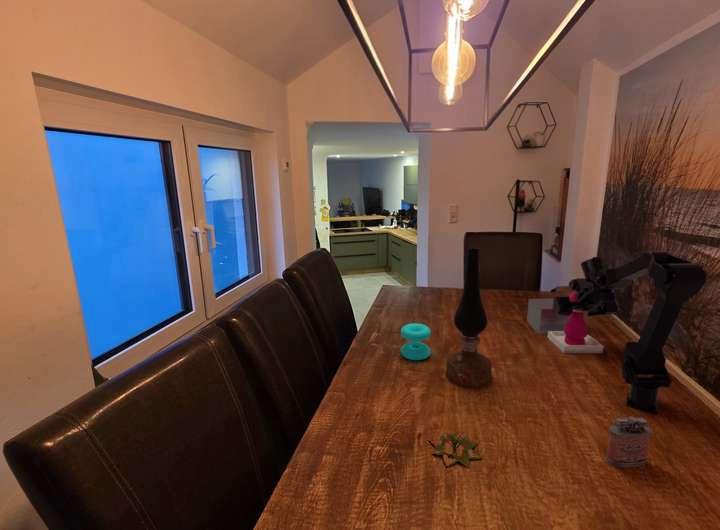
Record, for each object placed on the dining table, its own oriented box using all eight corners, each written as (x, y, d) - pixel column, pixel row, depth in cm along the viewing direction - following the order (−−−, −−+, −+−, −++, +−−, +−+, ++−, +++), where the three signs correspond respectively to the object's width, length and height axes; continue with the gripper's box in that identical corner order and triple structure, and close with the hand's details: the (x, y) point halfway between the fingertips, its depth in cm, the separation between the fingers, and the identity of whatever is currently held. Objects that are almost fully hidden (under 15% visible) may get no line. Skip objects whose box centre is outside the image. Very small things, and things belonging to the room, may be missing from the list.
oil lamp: (461, 371, 122) (453, 250, 122) (505, 379, 111) (497, 247, 111) (436, 382, 113) (428, 251, 112) (482, 393, 101) (473, 248, 101)
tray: (602, 353, 124) (603, 346, 123) (564, 353, 125) (564, 346, 124) (582, 337, 136) (583, 331, 136) (547, 337, 137) (548, 331, 136)
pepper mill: (583, 349, 125) (588, 292, 120) (559, 343, 130) (564, 288, 125) (589, 342, 130) (594, 287, 125) (566, 337, 135) (570, 284, 130)
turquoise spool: (434, 332, 120) (403, 334, 119) (433, 360, 122) (404, 362, 122) (426, 321, 130) (398, 323, 129) (426, 347, 132) (398, 349, 131)
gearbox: (582, 333, 140) (586, 300, 137) (539, 333, 140) (541, 301, 138) (566, 321, 151) (570, 291, 148) (526, 322, 152) (529, 291, 149)
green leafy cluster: (442, 477, 75) (442, 458, 74) (418, 439, 87) (418, 422, 86) (494, 465, 78) (495, 446, 77) (464, 429, 89) (465, 412, 88)
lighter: (638, 453, 79) (644, 412, 77) (650, 465, 76) (658, 423, 74) (601, 455, 79) (607, 414, 77) (612, 467, 76) (618, 425, 74)
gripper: (617, 272, 120) (594, 294, 133) (558, 273, 121) (541, 295, 134) (630, 303, 114) (605, 323, 127) (568, 304, 115) (549, 323, 128)
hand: (574, 315), depth 129 cm, fingers open, 9 cm apart
